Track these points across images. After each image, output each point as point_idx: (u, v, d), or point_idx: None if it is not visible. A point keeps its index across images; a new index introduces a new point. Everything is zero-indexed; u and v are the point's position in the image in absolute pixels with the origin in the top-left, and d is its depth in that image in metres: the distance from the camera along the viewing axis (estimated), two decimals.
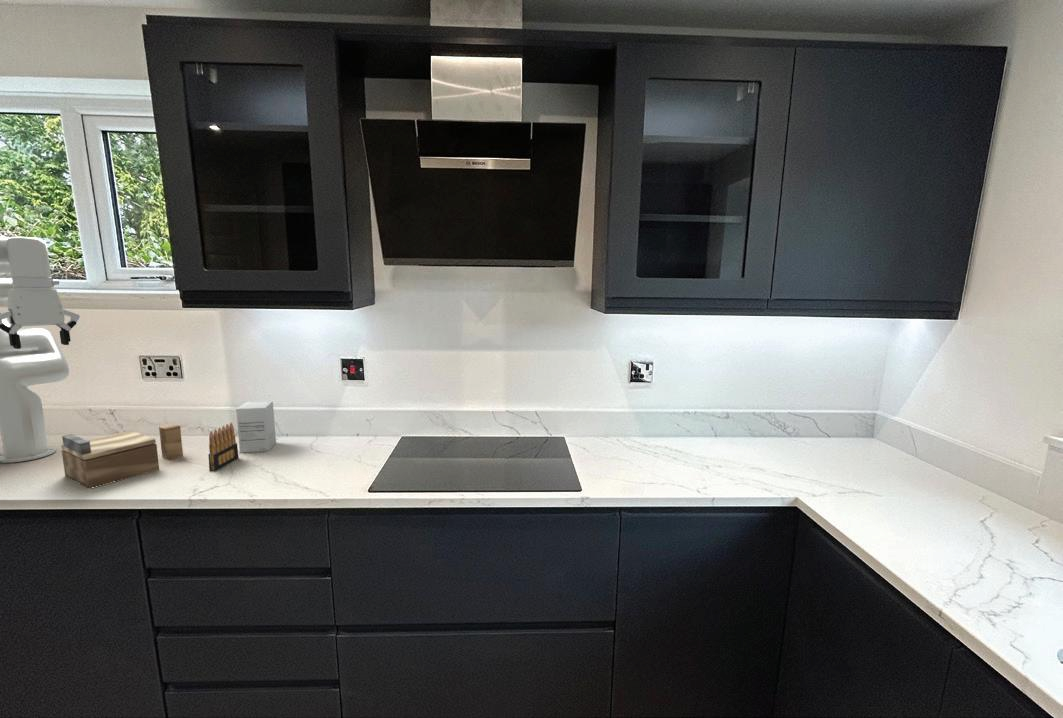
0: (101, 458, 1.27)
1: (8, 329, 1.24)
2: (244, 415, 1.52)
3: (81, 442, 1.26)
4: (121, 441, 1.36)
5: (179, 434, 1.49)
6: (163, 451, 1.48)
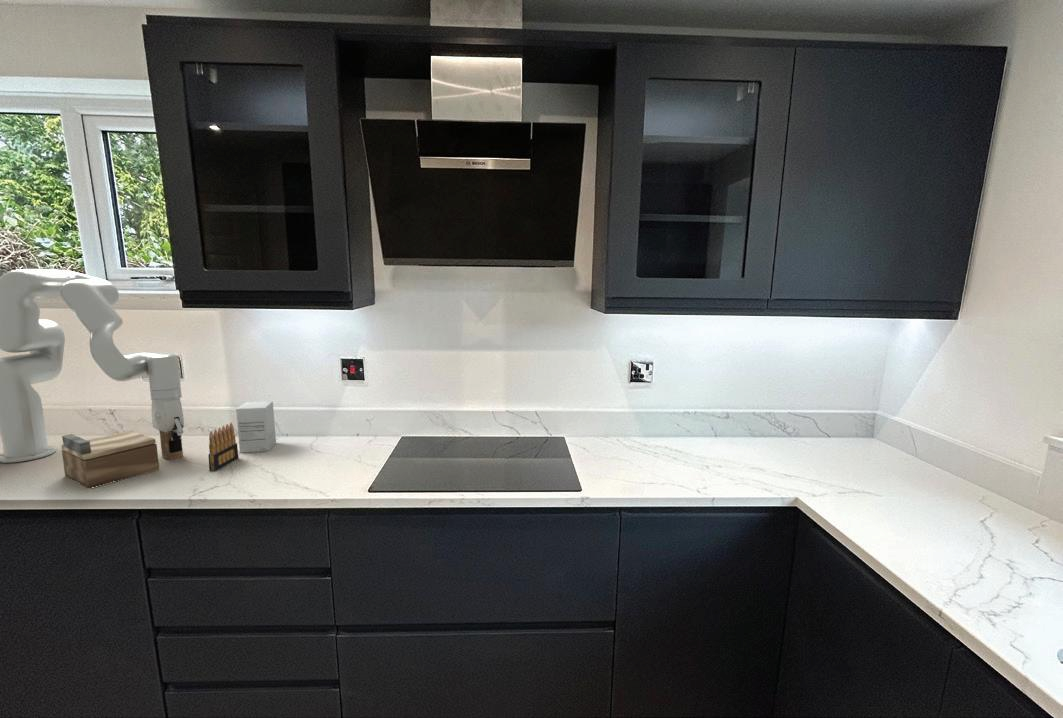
0: (101, 458, 1.27)
1: None
2: (244, 415, 1.52)
3: (81, 442, 1.26)
4: (121, 441, 1.36)
5: None
6: (163, 451, 1.48)
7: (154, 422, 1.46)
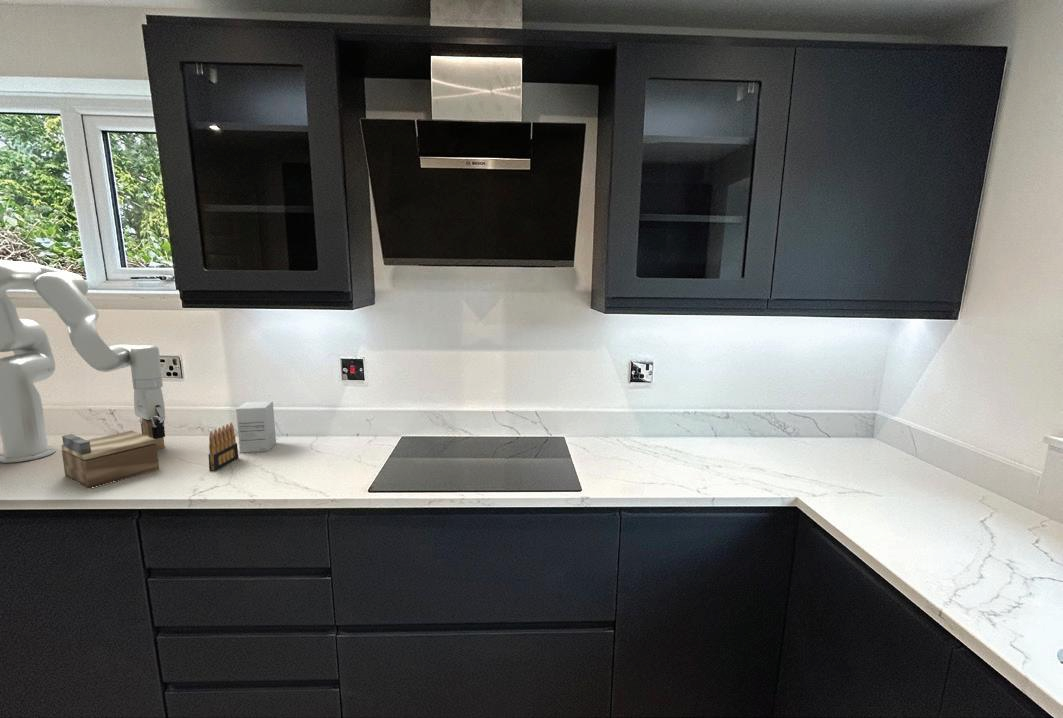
0: (101, 458, 1.27)
1: None
2: (244, 415, 1.52)
3: (81, 442, 1.26)
4: (121, 441, 1.36)
5: None
6: None
7: (136, 410, 1.54)
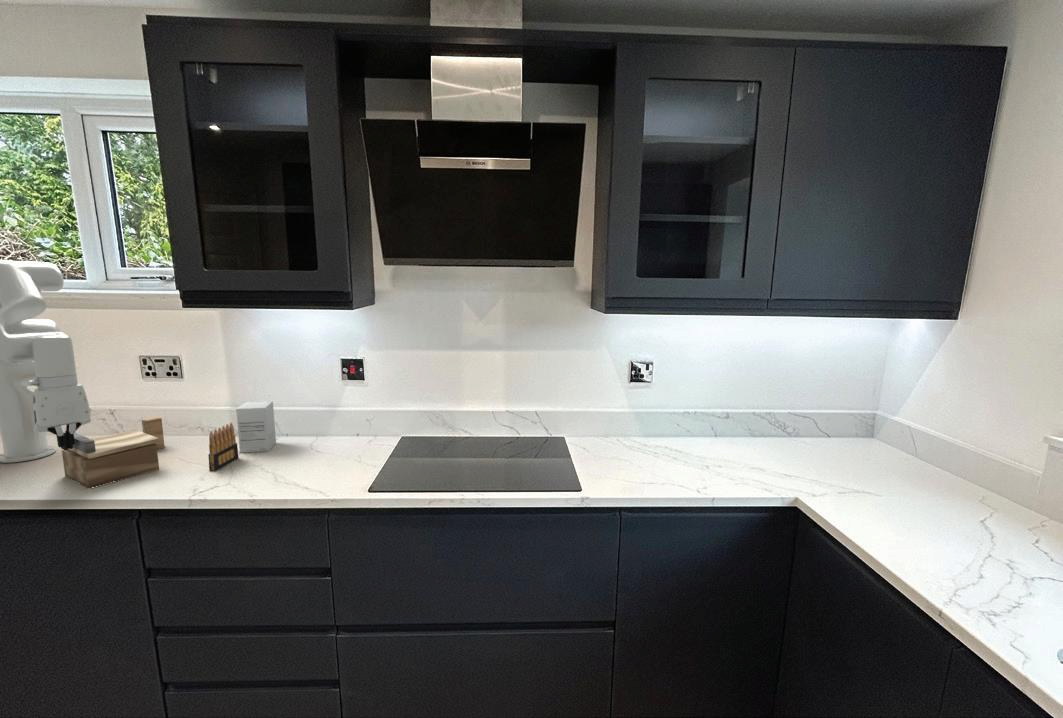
0: (101, 458, 1.27)
1: None
2: (244, 415, 1.52)
3: (86, 441, 1.26)
4: (125, 440, 1.36)
5: (160, 426, 1.56)
6: None
7: (52, 418, 1.22)
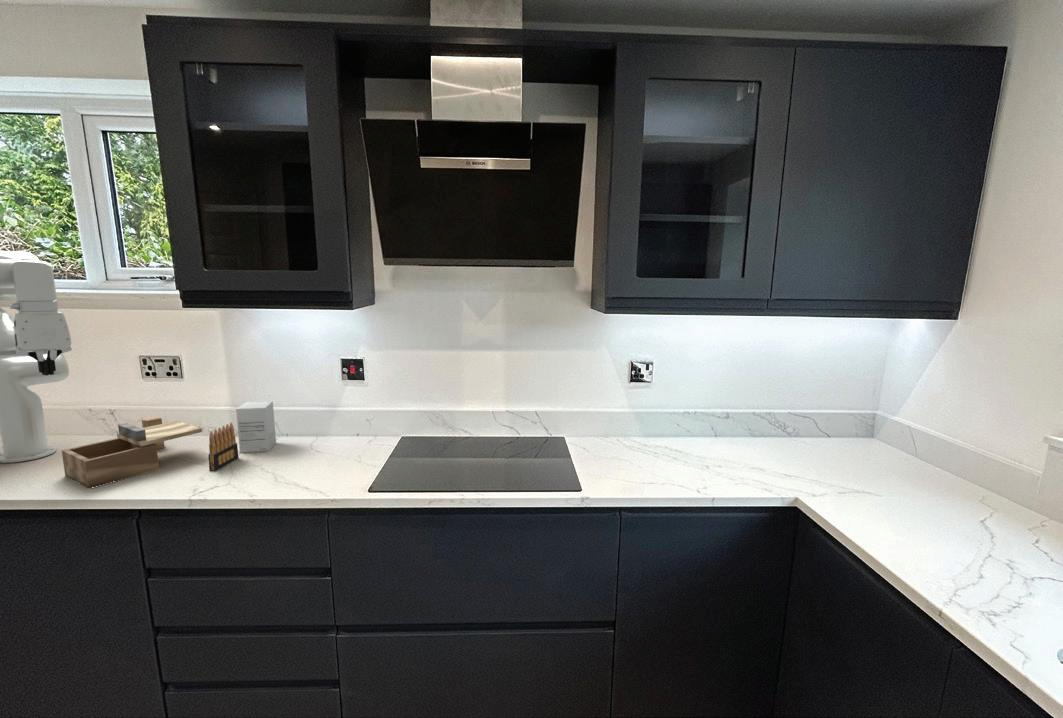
0: (101, 458, 1.27)
1: None
2: (244, 415, 1.52)
3: (137, 430, 1.36)
4: (171, 430, 1.46)
5: None
6: None
7: (32, 342, 1.25)
